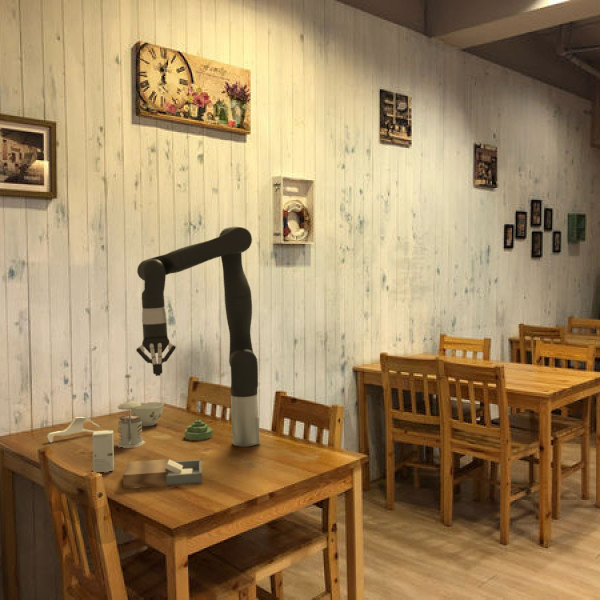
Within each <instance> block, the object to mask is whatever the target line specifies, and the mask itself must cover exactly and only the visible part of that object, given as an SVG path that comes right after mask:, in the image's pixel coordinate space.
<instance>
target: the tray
mask: <svg viewBox="0 0 600 600" xmlns="http://www.w3.org/2000/svg"><path fill="white" fill-rule="evenodd" d="M173 461H174V462H176V463H178V464H181V465H183V467H182V469H190V468H193V473H187V474H176V473H174V472H172V471H170V470H169V473H168V475H166V482H167V486H166V487H175V486H188V485H189V484H190V485H200V484H201V485H202V484H203V459H190V460H176V461H175V460H173Z"/></svg>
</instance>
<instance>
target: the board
mask: <svg viewBox="0 0 600 600" xmlns="http://www.w3.org/2000/svg"><path fill="white" fill-rule="evenodd" d="M168 461H169V458H168V459H167V458H166V459H164V458H163V459H151V460H138V461H137V460H136V461H128V462H127V464H126V467H125V468H124V472H123V475H122V481H123V483H122V484H123V489H124V488H130V489H135V488H134V487H143V488H152V487H153V488H155V487H168V486H167V482H166V475H168V473H169V470H168V469H165V468H166V465H167V463H168Z"/></svg>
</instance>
